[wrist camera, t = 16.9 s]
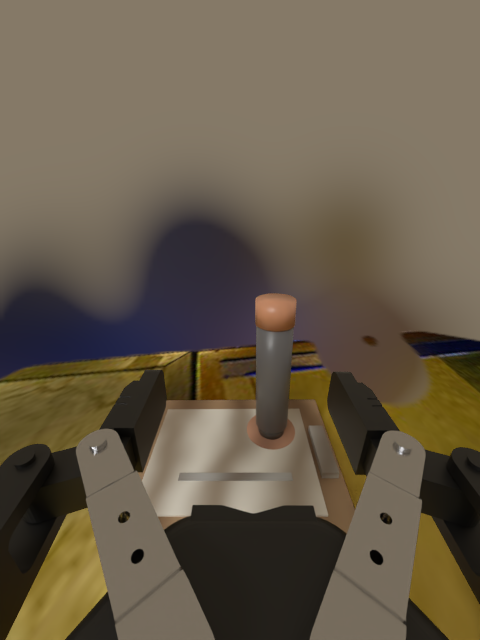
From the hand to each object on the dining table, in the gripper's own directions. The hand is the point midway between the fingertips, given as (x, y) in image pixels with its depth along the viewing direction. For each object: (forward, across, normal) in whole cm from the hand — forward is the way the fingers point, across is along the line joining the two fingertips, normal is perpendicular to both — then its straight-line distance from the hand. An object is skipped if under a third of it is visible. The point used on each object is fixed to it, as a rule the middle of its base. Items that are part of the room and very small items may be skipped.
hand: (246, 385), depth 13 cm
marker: (+13, -4, +16) cm, 21 cm away
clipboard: (+10, +1, +18) cm, 20 cm away
